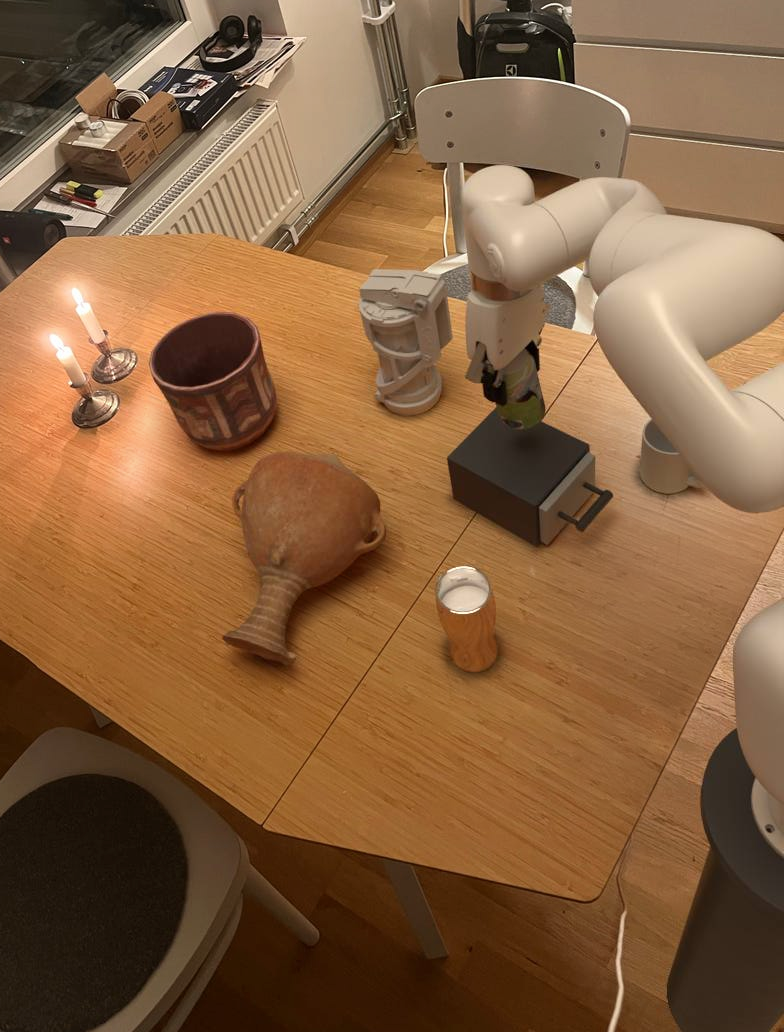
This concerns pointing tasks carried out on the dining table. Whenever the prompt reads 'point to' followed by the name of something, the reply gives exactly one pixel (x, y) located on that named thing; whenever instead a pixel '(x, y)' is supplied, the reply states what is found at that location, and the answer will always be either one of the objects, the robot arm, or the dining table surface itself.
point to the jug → (299, 537)
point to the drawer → (571, 500)
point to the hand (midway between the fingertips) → (512, 383)
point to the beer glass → (468, 616)
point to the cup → (663, 463)
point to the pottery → (216, 379)
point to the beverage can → (521, 393)
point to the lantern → (406, 335)
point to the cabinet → (512, 471)
